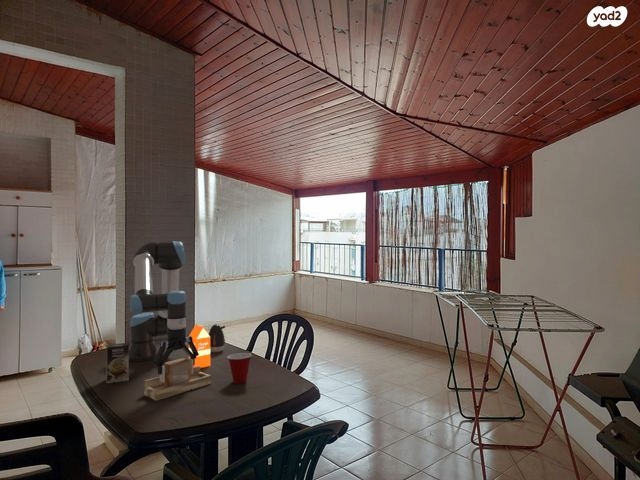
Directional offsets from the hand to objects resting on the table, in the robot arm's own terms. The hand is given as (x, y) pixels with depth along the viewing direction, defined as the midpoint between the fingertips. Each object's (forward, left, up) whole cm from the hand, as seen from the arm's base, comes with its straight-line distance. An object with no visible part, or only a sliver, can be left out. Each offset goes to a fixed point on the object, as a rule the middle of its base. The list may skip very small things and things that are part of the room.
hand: (176, 377), depth 182 cm
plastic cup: (+12, +24, -5) cm, 27 cm away
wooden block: (0, 0, -3) cm, 3 cm away
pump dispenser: (-37, +47, -5) cm, 60 cm away
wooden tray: (0, +1, -5) cm, 5 cm away
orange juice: (-22, +26, -5) cm, 34 cm away
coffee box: (-31, -11, -5) cm, 33 cm away
